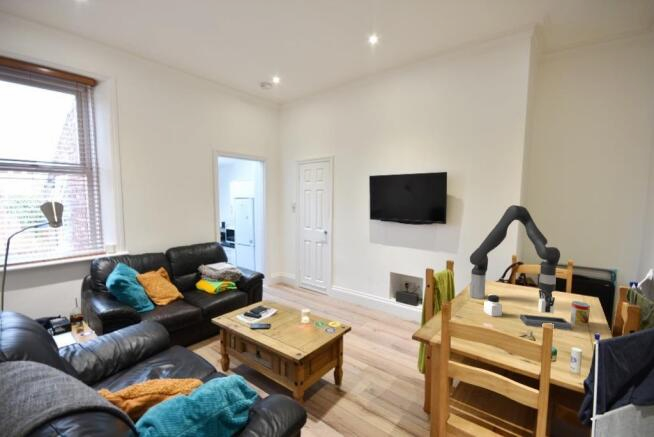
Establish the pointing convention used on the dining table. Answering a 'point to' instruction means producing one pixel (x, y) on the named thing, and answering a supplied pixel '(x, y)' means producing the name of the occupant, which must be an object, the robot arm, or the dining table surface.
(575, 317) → the canned food
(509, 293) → the dining table surface
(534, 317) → the grey rectangular tray
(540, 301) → the block
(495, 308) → the medicine bottle
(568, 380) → the dining table surface
